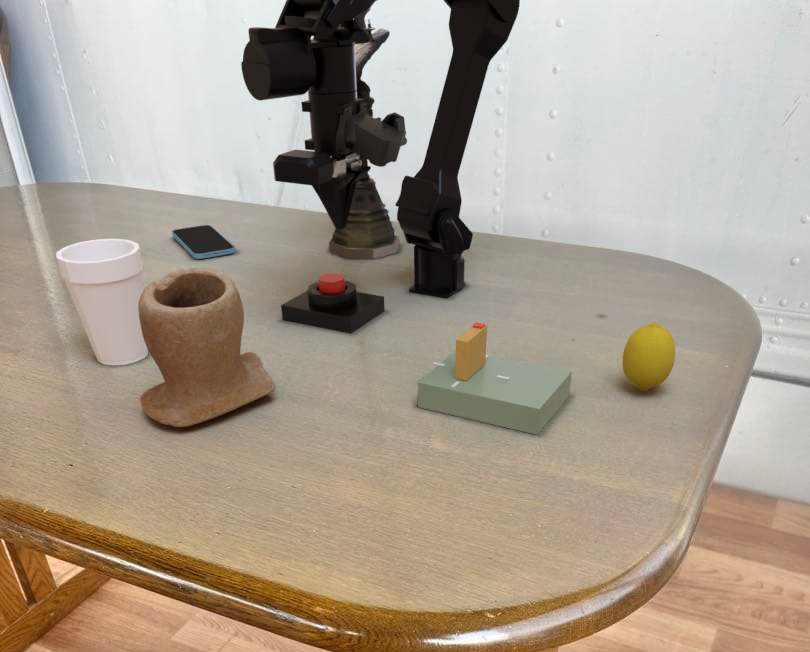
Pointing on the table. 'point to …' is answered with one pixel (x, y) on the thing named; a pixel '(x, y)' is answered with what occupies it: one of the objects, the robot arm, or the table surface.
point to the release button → (331, 283)
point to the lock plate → (497, 393)
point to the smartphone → (203, 241)
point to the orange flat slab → (470, 351)
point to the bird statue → (366, 181)
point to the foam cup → (107, 296)
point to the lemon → (648, 356)
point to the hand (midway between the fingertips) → (340, 228)
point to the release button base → (333, 308)
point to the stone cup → (198, 348)
